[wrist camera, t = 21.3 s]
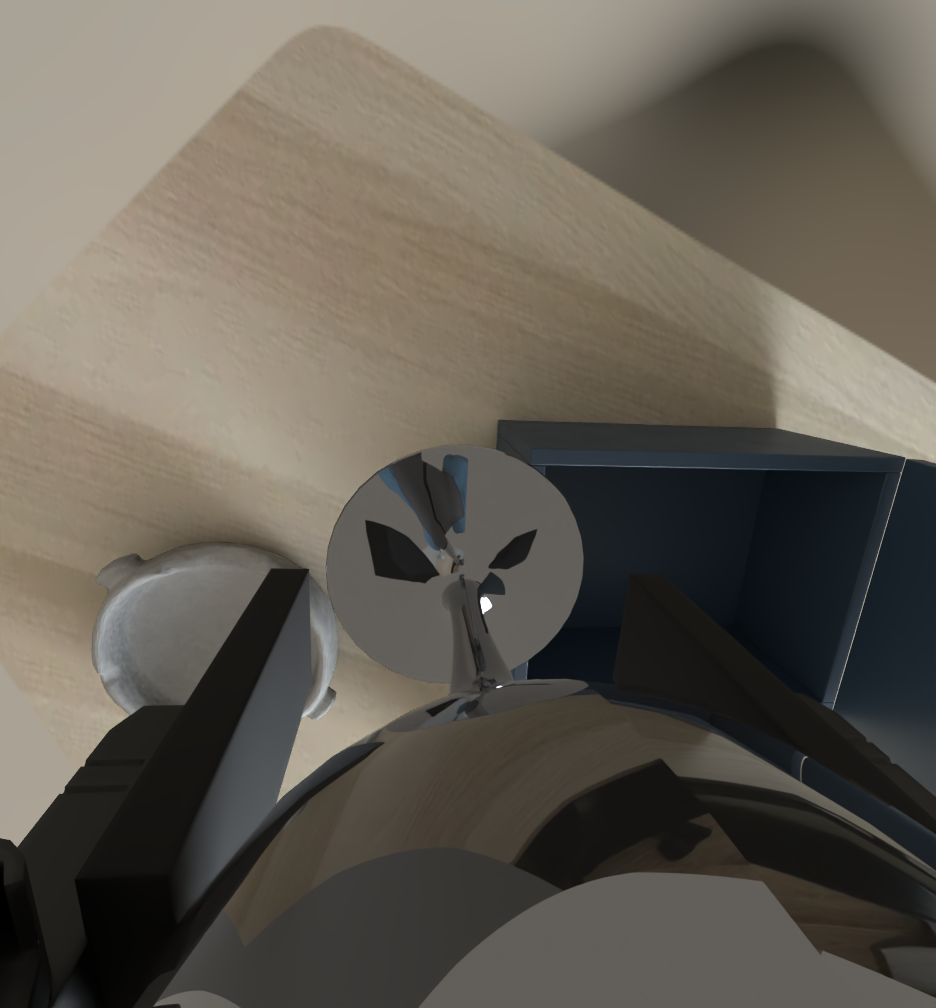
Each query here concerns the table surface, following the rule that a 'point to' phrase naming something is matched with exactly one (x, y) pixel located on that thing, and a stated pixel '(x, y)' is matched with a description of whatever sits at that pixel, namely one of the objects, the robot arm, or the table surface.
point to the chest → (716, 537)
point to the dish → (191, 622)
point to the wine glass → (543, 811)
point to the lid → (899, 635)
